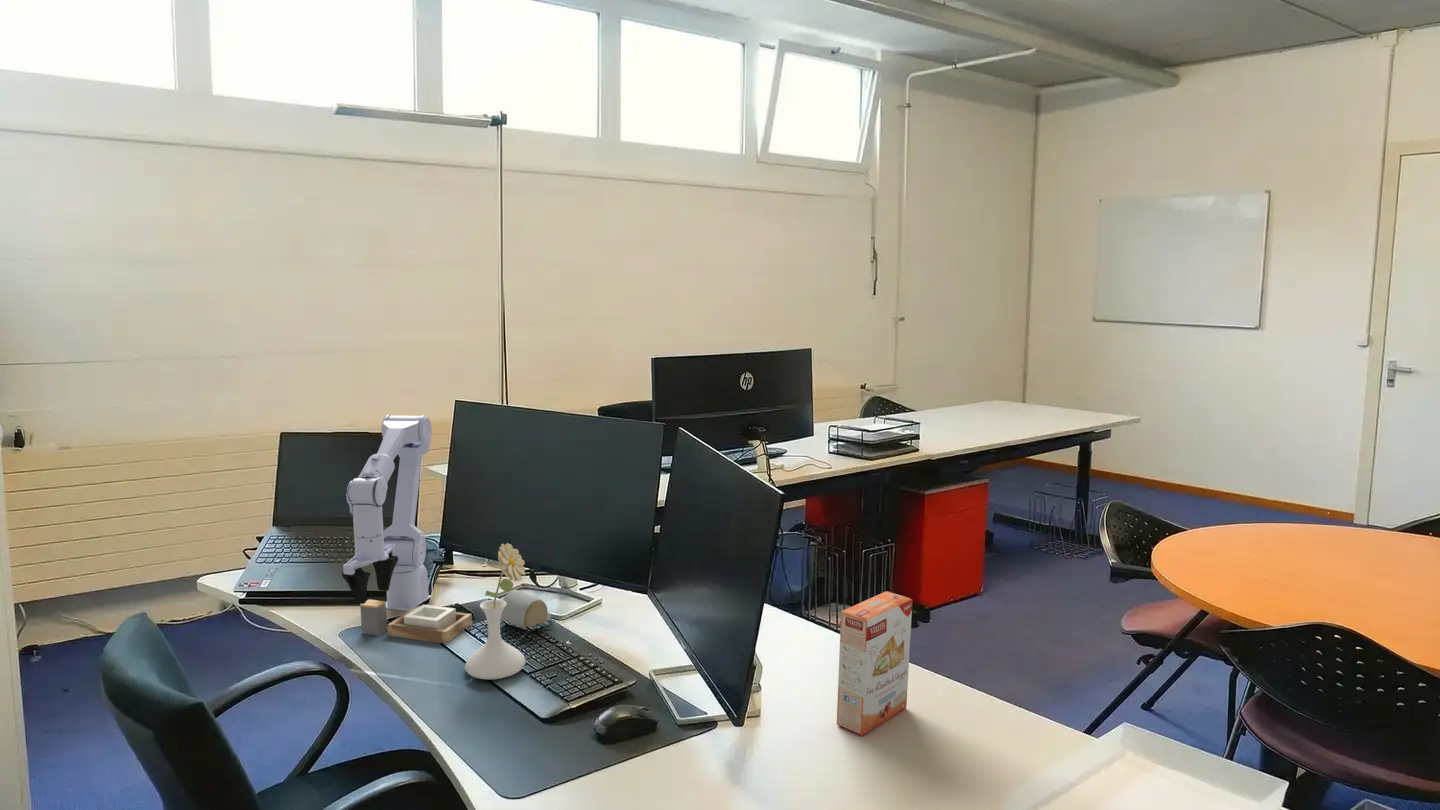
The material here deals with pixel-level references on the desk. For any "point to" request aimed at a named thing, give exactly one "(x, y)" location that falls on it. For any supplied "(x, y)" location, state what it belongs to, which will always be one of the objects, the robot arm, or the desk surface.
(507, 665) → the flower in vase
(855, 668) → the cracker box
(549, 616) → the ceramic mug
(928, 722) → the desk surface
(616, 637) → the desk surface
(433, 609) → the socket block
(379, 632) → the block
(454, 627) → the walled box
